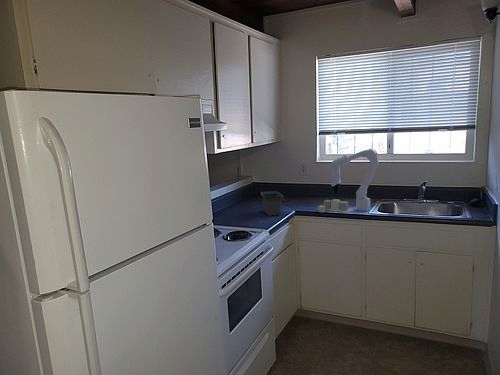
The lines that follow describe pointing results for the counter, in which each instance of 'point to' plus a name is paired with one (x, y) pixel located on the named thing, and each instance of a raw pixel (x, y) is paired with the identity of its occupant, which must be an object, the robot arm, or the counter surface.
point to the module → (335, 204)
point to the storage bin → (272, 202)
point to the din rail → (342, 206)
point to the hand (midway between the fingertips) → (336, 194)
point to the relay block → (321, 208)
